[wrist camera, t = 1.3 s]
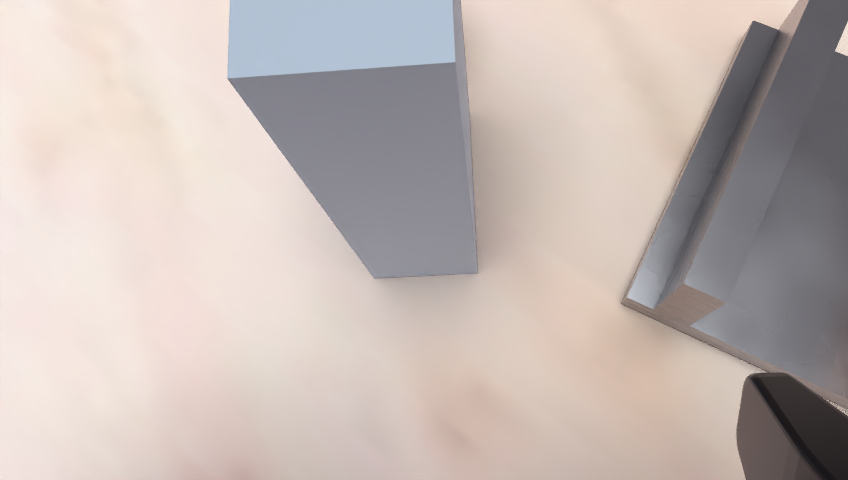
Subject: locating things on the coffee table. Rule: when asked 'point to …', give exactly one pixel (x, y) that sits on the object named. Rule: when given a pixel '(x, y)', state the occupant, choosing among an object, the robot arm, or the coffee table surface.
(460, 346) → the coffee table surface
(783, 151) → the rack
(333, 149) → the blue-gray rectangular block
